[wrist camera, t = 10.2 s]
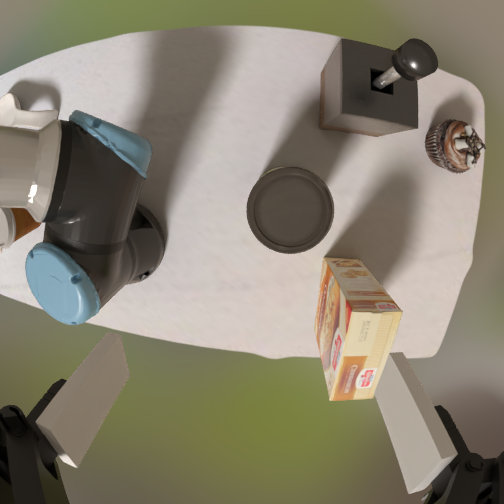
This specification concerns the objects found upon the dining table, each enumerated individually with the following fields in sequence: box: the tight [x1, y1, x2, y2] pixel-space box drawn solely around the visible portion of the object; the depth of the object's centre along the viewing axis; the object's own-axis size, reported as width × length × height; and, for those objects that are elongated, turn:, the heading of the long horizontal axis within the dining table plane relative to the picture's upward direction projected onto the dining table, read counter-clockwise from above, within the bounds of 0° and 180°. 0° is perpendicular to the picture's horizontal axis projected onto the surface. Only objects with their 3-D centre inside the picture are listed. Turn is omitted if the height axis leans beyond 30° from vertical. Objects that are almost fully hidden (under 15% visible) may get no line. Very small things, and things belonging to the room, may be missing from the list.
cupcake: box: [425, 119, 486, 174], centre depth 37 cm, size 10×10×10 cm
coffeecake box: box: [314, 257, 403, 401], centre depth 42 cm, size 15×7×20 cm, turn 178°
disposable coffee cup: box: [0, 207, 41, 249], centre depth 44 cm, size 10×10×12 cm
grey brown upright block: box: [319, 38, 418, 137], centre depth 34 cm, size 10×10×15 cm
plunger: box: [371, 39, 438, 92], centre depth 27 cm, size 7×7×20 cm
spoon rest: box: [0, 93, 59, 129], centre depth 40 cm, size 24×12×7 cm, turn 74°
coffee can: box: [247, 167, 334, 254], centre depth 40 cm, size 10×10×14 cm
